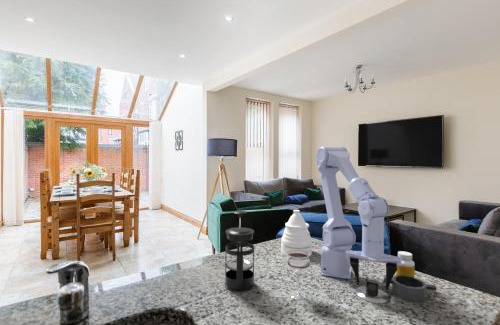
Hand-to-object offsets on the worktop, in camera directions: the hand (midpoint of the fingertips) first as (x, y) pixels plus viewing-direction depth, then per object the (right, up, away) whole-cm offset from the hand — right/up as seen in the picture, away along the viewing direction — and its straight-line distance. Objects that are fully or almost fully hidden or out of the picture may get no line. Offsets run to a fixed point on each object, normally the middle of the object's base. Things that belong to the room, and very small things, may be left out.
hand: (372, 286), depth 80 cm
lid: (0, -3, 0) cm, 3 cm away
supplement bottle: (+14, -3, +8) cm, 16 cm away
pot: (+11, -3, 0) cm, 11 cm away
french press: (-39, -3, +6) cm, 39 cm away
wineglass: (-22, -3, 0) cm, 22 cm away
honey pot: (-16, -2, +36) cm, 40 cm away
